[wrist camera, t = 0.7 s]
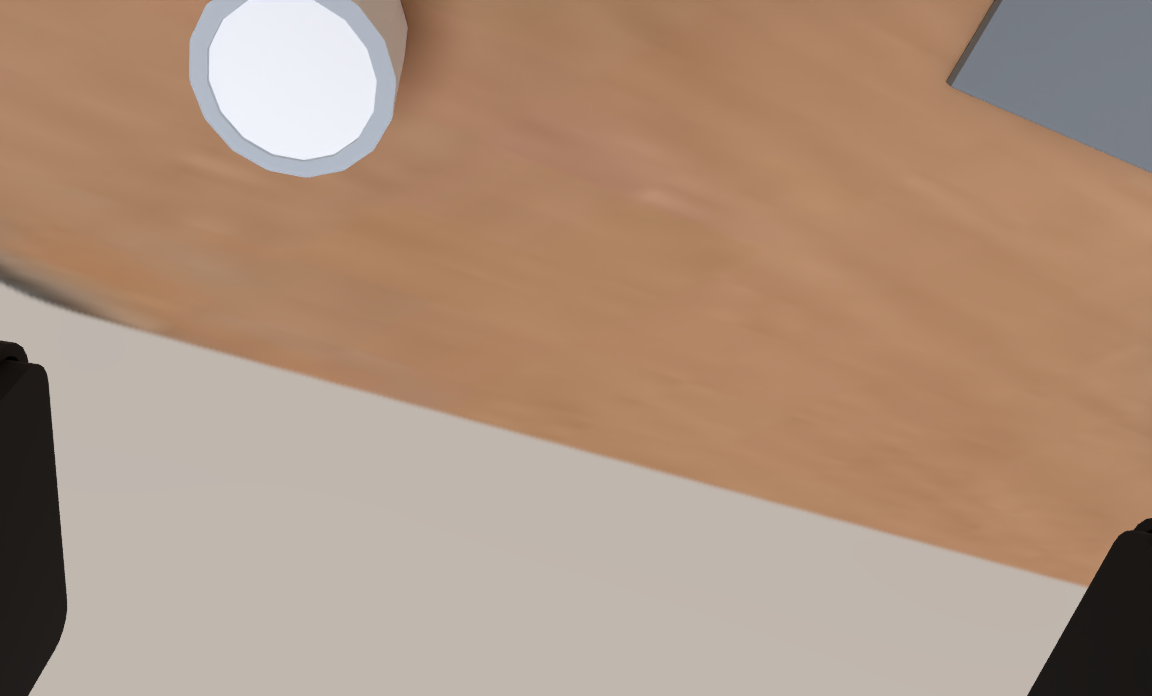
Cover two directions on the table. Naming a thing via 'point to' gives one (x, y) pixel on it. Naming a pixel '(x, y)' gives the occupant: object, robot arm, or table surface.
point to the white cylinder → (299, 78)
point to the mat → (1068, 70)
